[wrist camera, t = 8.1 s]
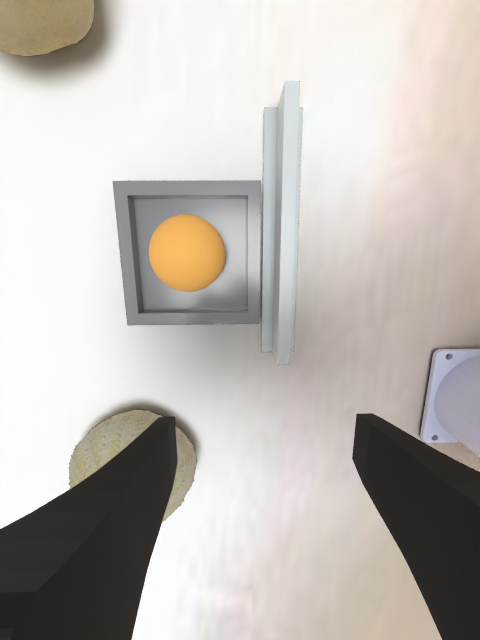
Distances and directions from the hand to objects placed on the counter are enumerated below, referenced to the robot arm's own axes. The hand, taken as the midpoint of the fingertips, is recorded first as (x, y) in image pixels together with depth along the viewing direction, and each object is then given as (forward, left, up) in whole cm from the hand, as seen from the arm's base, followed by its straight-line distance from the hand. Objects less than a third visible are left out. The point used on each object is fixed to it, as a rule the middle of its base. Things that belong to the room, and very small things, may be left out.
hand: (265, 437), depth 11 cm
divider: (-2, -8, -10) cm, 13 cm away
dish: (+4, -7, -10) cm, 13 cm away
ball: (+4, -7, -8) cm, 11 cm away
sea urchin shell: (+9, +9, -11) cm, 17 cm away
